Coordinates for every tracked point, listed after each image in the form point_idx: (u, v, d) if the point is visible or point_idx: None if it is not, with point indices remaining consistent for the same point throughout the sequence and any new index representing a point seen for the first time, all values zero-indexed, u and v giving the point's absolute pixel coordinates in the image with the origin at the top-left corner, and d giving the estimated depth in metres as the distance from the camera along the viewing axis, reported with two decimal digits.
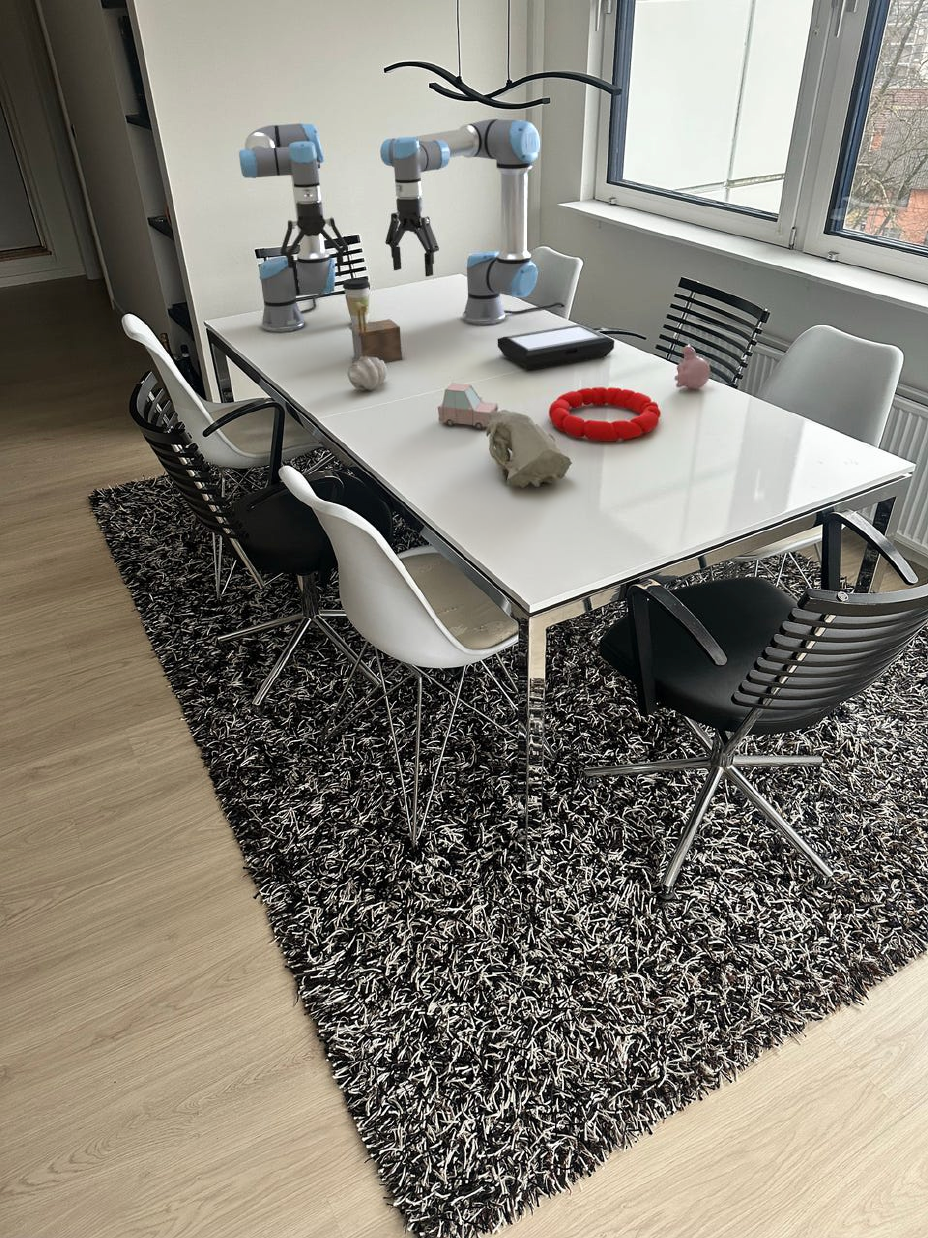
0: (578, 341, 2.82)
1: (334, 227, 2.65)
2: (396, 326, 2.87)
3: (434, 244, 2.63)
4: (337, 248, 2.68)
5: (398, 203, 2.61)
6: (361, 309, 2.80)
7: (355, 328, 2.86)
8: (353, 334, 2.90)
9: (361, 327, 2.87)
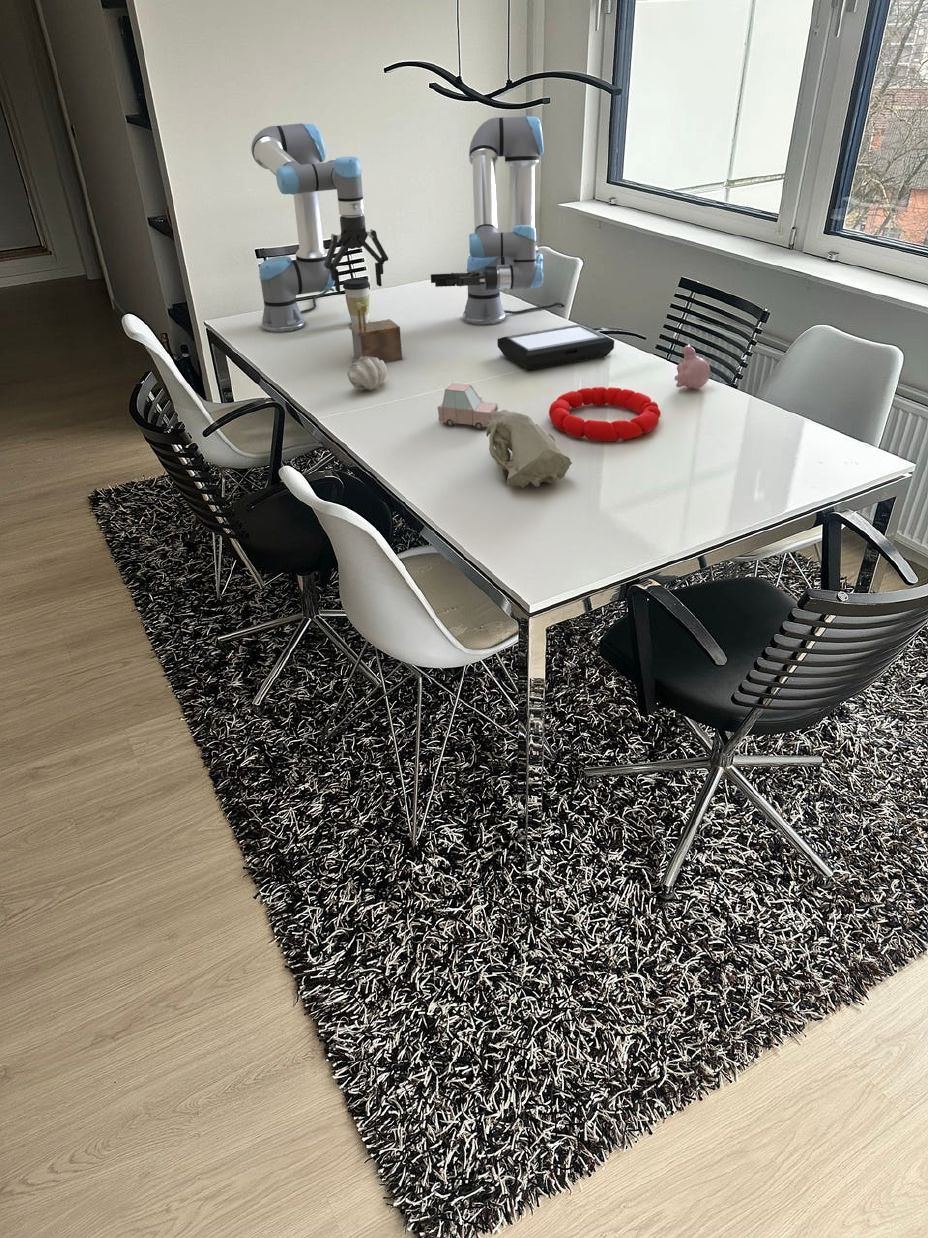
0: (578, 341, 2.82)
1: (376, 239, 2.73)
2: (396, 326, 2.87)
3: None
4: (378, 259, 2.76)
5: (492, 289, 2.97)
6: (361, 309, 2.80)
7: (355, 328, 2.86)
8: (353, 334, 2.90)
9: (361, 327, 2.87)
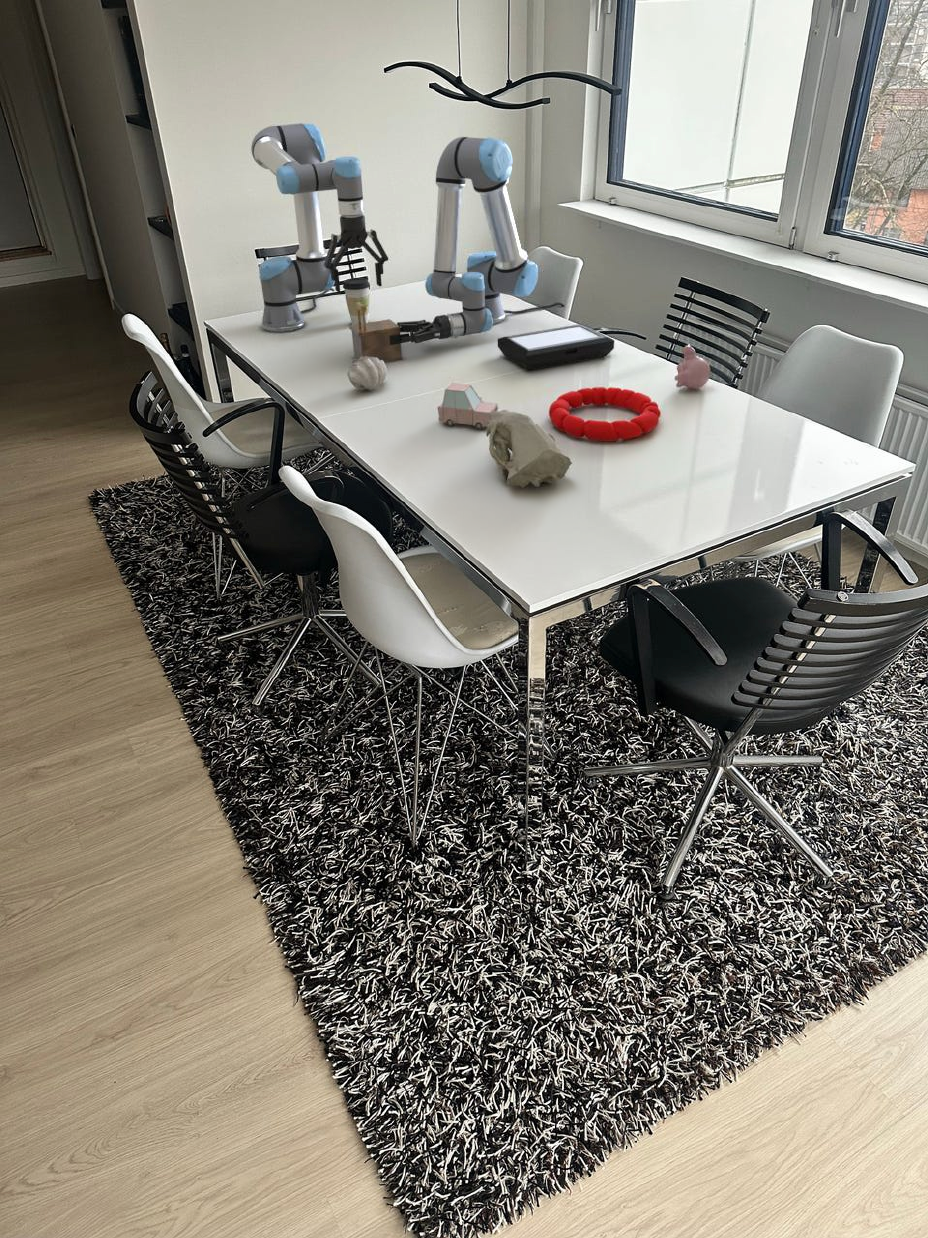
0: (578, 341, 2.82)
1: (376, 239, 2.73)
2: (396, 326, 2.87)
3: None
4: (378, 259, 2.76)
5: (445, 338, 2.99)
6: (361, 309, 2.80)
7: (355, 328, 2.86)
8: (353, 334, 2.89)
9: (361, 327, 2.87)
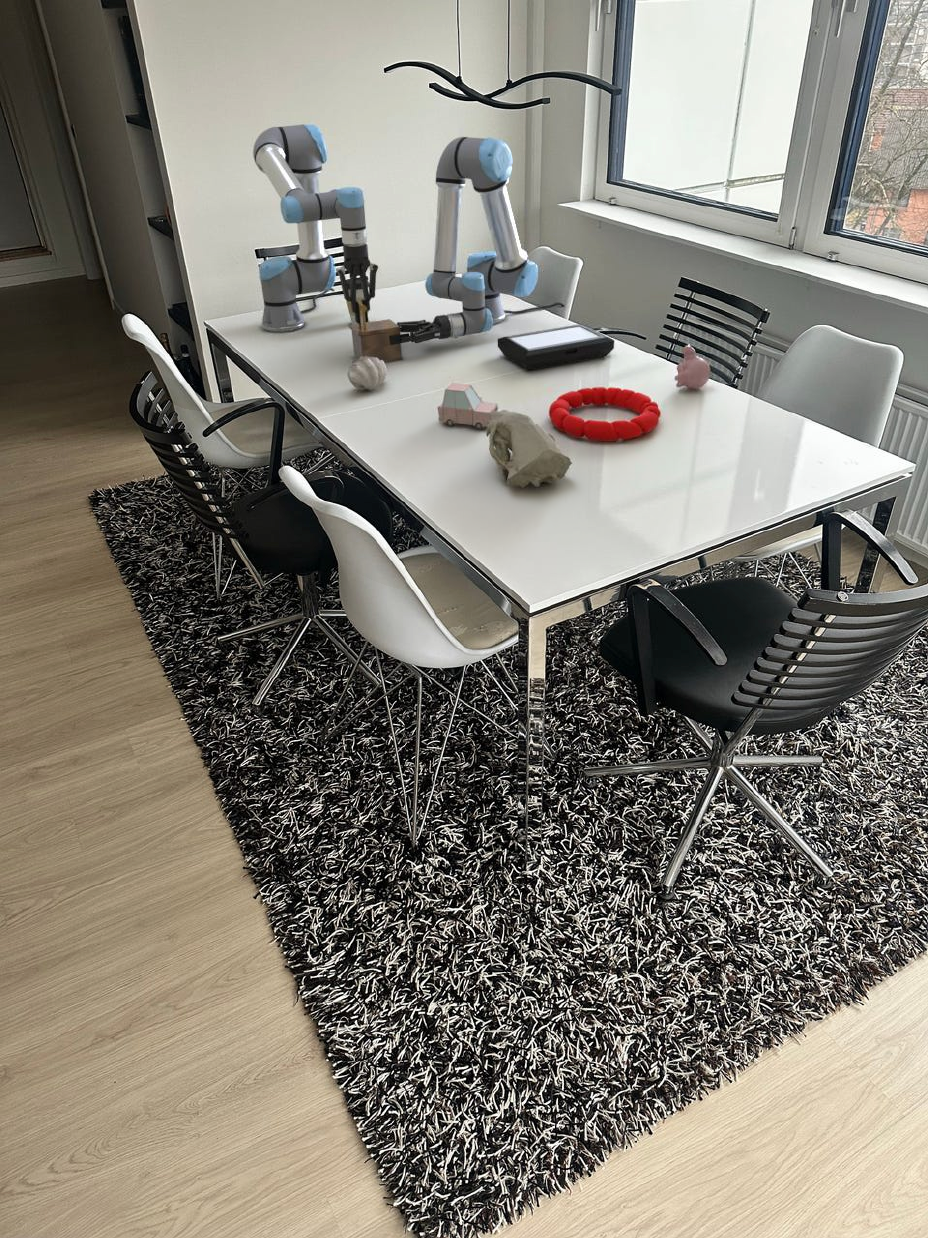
0: (578, 341, 2.82)
1: (374, 273, 2.78)
2: (396, 326, 2.87)
3: None
4: (367, 294, 2.80)
5: (445, 338, 2.99)
6: (361, 309, 2.80)
7: (355, 328, 2.86)
8: (353, 334, 2.90)
9: (361, 327, 2.87)
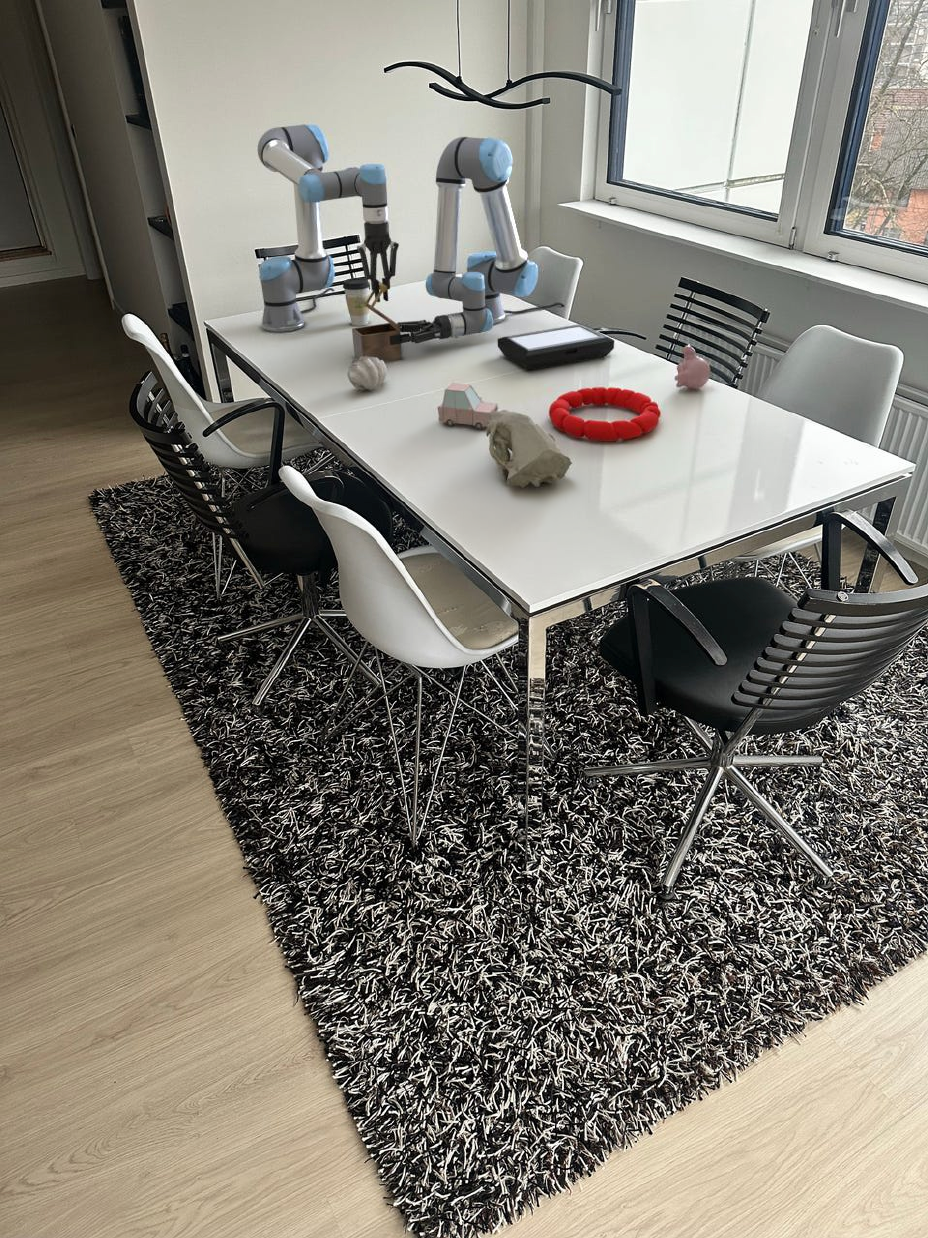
0: (578, 341, 2.82)
1: (395, 251, 2.77)
2: None
3: None
4: (387, 273, 2.79)
5: (445, 338, 2.99)
6: (382, 287, 2.79)
7: None
8: (353, 334, 2.90)
9: None
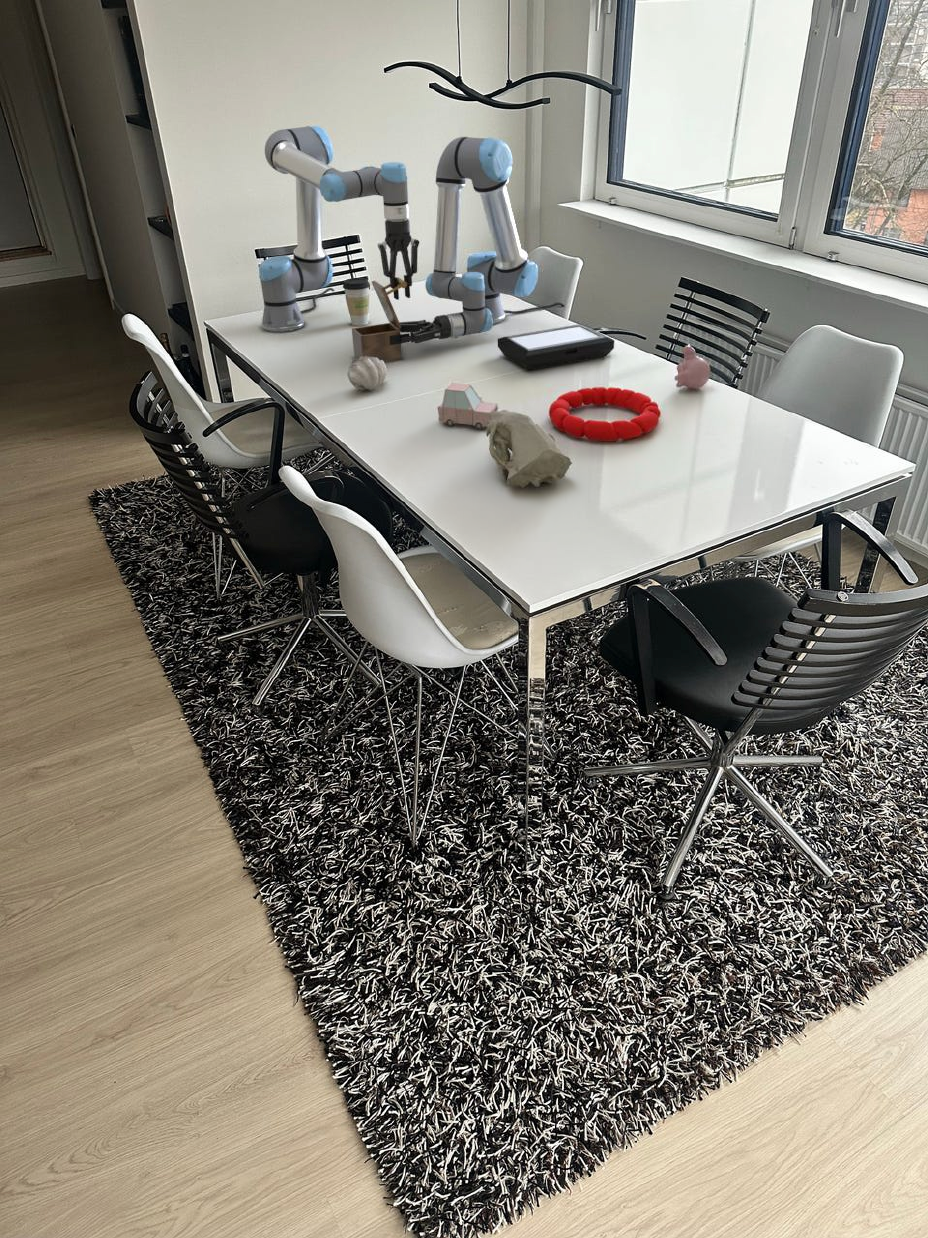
0: (578, 341, 2.82)
1: (416, 248, 2.79)
2: (399, 324, 2.87)
3: None
4: (409, 270, 2.82)
5: (445, 338, 2.99)
6: (403, 282, 2.81)
7: None
8: (353, 334, 2.89)
9: None
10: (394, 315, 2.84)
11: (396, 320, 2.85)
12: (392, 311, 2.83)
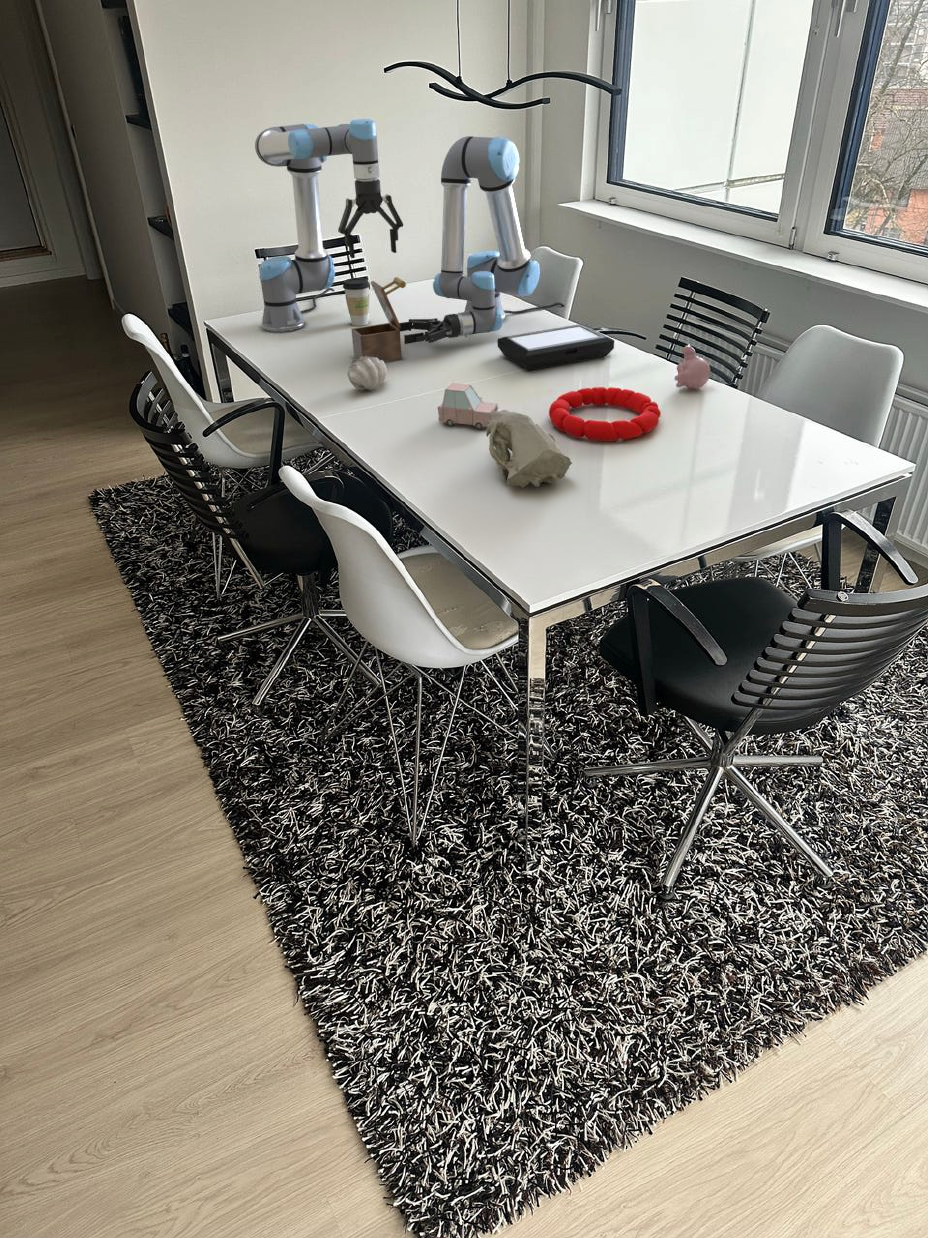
0: (578, 341, 2.82)
1: (391, 204, 2.69)
2: None
3: None
4: (393, 225, 2.73)
5: None
6: (402, 282, 2.81)
7: None
8: (353, 334, 2.89)
9: None
10: (393, 315, 2.84)
11: (395, 320, 2.85)
12: (391, 311, 2.83)
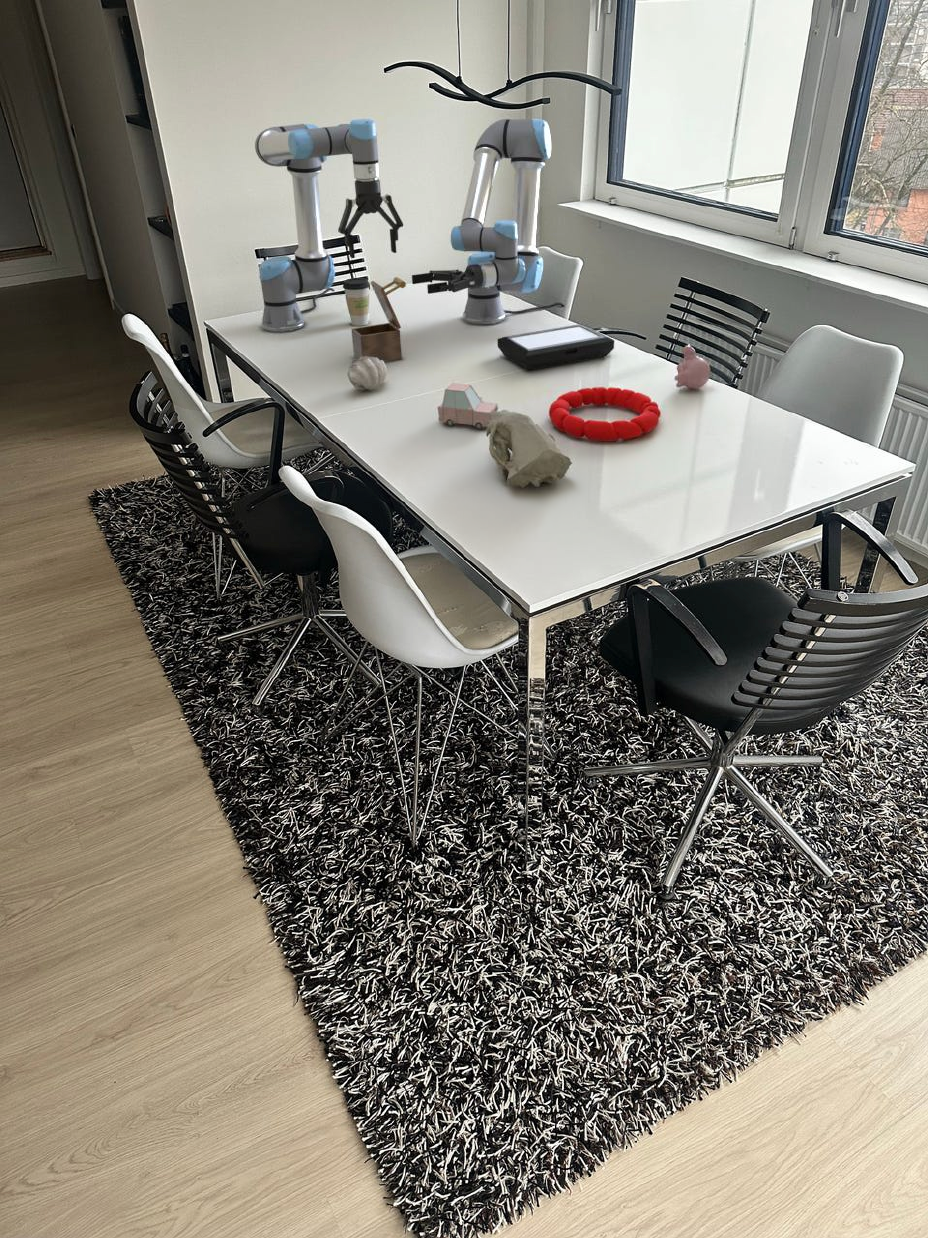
0: (578, 341, 2.82)
1: (391, 204, 2.69)
2: (399, 324, 2.87)
3: None
4: (393, 225, 2.73)
5: (477, 288, 2.94)
6: (402, 282, 2.81)
7: None
8: (353, 334, 2.89)
9: None
10: (393, 315, 2.84)
11: (395, 320, 2.85)
12: (391, 311, 2.83)
